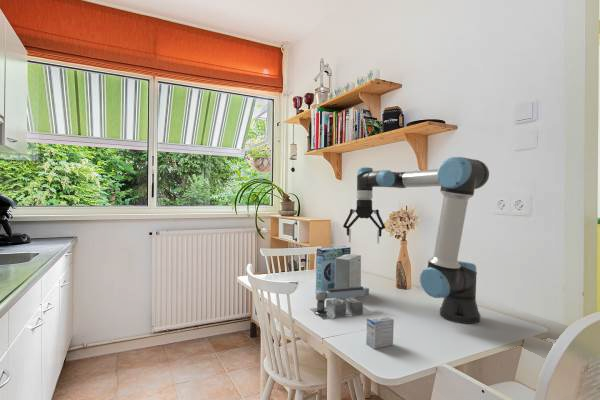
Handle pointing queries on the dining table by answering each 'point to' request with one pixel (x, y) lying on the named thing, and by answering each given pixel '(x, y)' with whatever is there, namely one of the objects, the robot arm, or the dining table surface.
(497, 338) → the dining table surface
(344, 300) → the block
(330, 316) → the server tray
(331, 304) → the power supply block
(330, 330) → the dining table surface
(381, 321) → the medicine box
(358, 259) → the hard drive box
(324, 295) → the cable arm
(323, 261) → the blue printed carton
